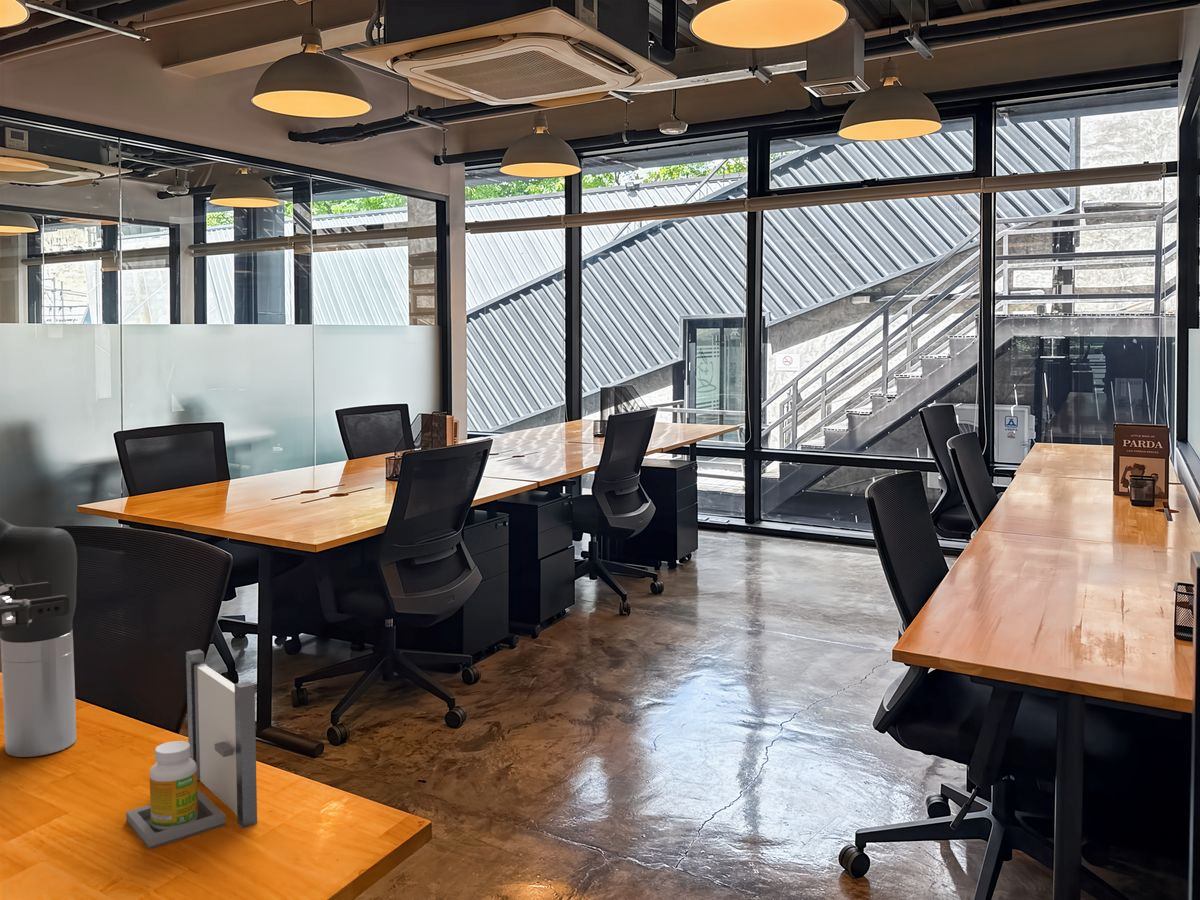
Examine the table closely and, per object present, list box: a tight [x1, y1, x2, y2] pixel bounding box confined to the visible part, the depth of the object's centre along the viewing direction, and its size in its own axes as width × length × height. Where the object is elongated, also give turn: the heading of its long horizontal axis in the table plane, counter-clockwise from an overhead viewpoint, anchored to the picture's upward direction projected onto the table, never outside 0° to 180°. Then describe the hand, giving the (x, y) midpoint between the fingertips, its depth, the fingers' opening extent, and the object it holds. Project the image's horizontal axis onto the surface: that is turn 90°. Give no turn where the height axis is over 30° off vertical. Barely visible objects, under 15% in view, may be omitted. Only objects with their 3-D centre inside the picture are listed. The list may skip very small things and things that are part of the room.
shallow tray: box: [125, 790, 226, 850], centre depth 116 cm, size 9×9×1 cm
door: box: [194, 663, 237, 815], centre depth 122 cm, size 15×3×16 cm, turn 43°
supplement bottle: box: [149, 740, 198, 831], centre depth 116 cm, size 5×5×10 cm
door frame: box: [185, 649, 258, 829], centre depth 122 cm, size 19×2×18 cm, turn 43°
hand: (59, 597), depth 109 cm, fingers open, 8 cm apart
